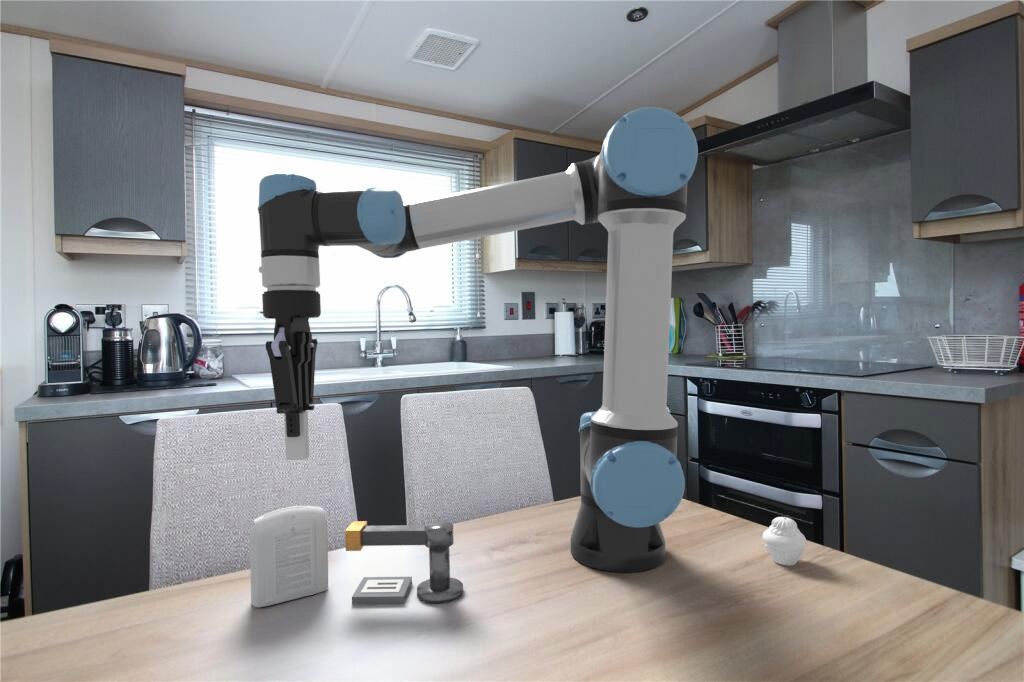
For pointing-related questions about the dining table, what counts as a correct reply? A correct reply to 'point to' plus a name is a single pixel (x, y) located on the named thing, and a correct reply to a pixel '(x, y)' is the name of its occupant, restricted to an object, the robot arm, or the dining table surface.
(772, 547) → the muffin
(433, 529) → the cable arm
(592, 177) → the robot arm
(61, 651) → the dining table surface
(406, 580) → the label tile
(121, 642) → the dining table surface
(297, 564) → the photo printer
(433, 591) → the round-base stand
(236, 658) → the dining table surface
